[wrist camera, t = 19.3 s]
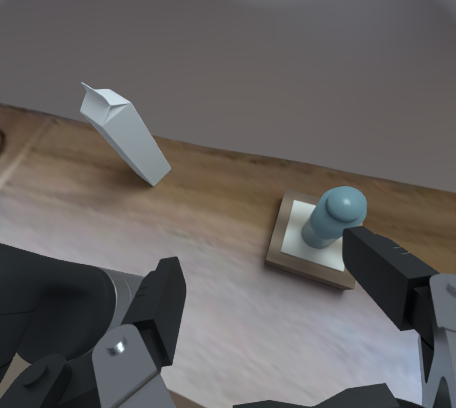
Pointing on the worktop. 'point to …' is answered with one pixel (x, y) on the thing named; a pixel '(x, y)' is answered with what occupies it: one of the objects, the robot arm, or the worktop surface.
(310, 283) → the worktop surface
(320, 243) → the blue capped bottle
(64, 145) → the worktop surface
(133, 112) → the milk
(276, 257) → the plinth
